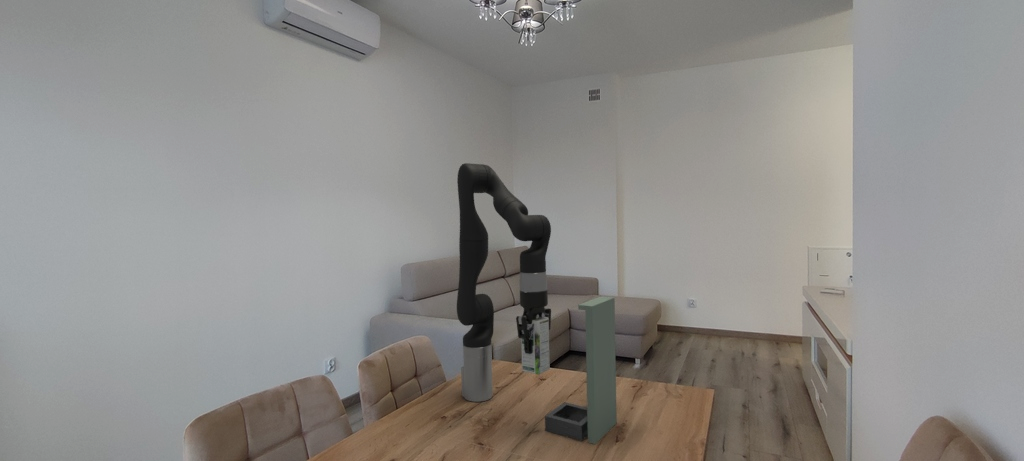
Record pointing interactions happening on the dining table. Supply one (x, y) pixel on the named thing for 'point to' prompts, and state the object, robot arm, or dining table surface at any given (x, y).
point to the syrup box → (537, 348)
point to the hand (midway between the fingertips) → (535, 349)
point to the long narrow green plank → (600, 366)
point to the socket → (568, 421)
